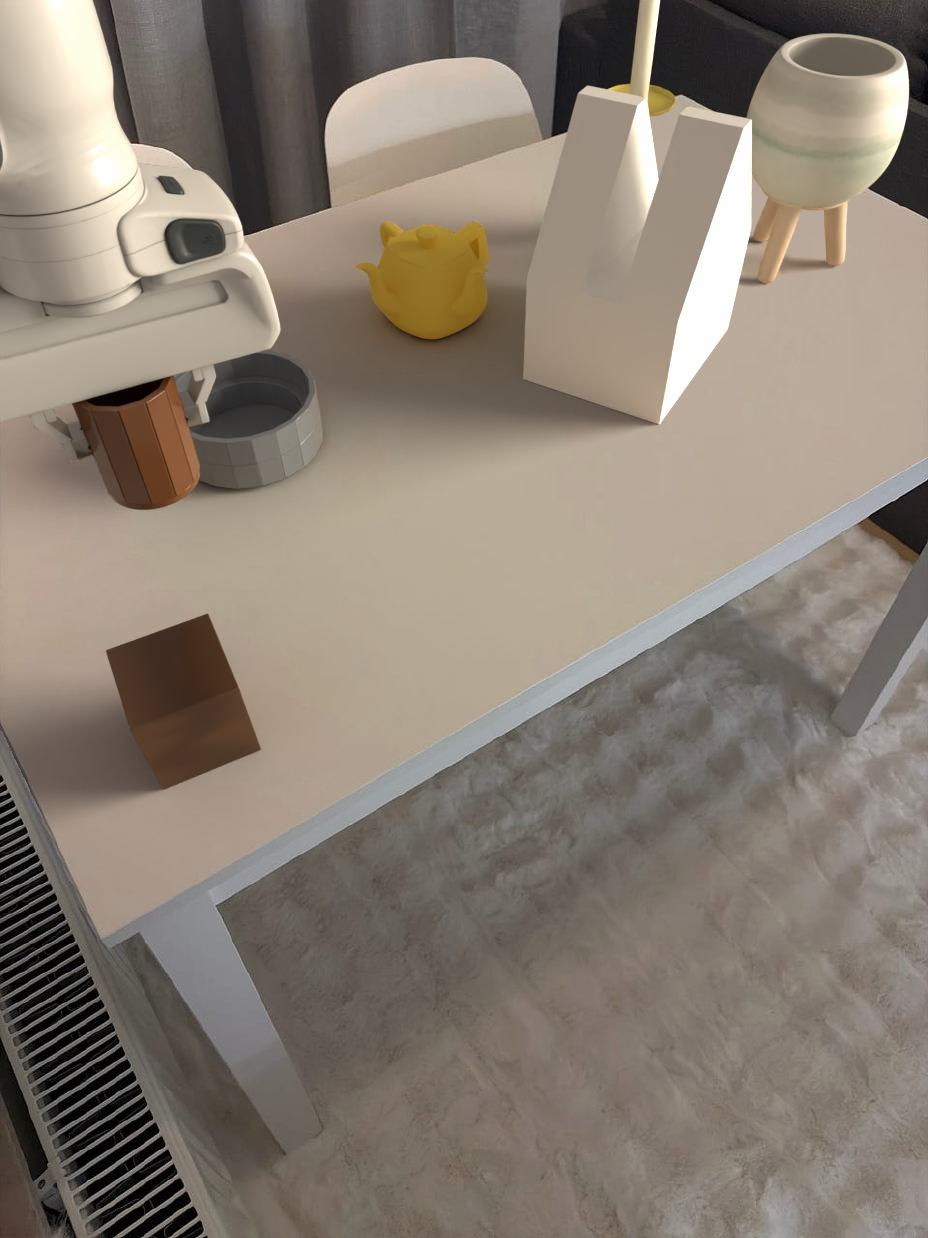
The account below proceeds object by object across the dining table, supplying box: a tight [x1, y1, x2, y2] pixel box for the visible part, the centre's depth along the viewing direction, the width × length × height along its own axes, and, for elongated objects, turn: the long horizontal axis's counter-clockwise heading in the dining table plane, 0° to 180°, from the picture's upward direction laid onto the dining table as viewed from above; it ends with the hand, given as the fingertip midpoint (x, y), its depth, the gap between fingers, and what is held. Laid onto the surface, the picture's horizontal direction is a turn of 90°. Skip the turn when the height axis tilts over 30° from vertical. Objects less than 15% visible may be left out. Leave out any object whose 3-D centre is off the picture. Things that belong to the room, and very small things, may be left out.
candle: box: [607, 0, 676, 118], centre depth 103 cm, size 10×10×32 cm
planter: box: [745, 33, 910, 284], centre depth 101 cm, size 16×16×22 cm
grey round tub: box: [174, 349, 324, 490], centre depth 88 cm, size 14×14×6 cm
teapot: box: [354, 220, 491, 340], centre depth 100 cm, size 14×13×10 cm
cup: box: [72, 375, 200, 511], centre depth 59 cm, size 6×6×8 cm
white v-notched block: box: [522, 85, 752, 425], centre depth 89 cm, size 19×15×25 cm
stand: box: [105, 613, 262, 790], centre depth 66 cm, size 7×7×8 cm
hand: (140, 436), depth 59 cm, fingers closed on cup, 6 cm apart
